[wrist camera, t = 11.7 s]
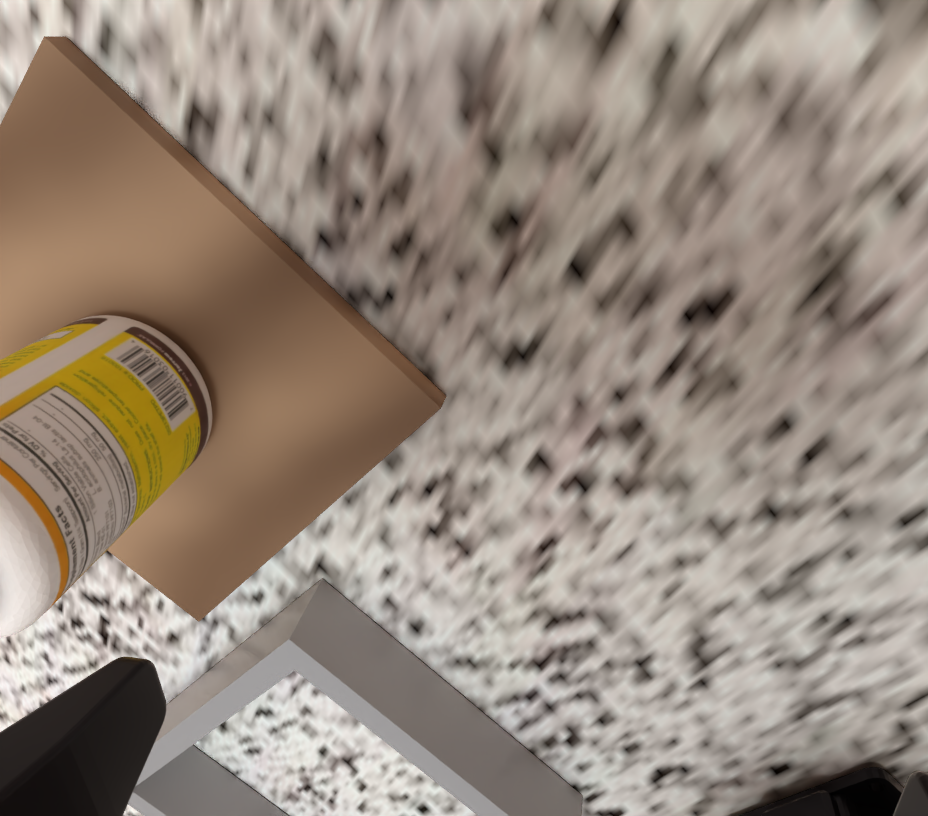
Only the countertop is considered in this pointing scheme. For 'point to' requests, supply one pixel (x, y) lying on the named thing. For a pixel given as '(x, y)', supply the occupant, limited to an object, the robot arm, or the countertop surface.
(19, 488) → the supplement bottle
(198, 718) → the grey square frame
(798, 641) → the countertop surface
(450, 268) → the countertop surface
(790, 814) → the robot arm
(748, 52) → the countertop surface
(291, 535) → the walnut board
